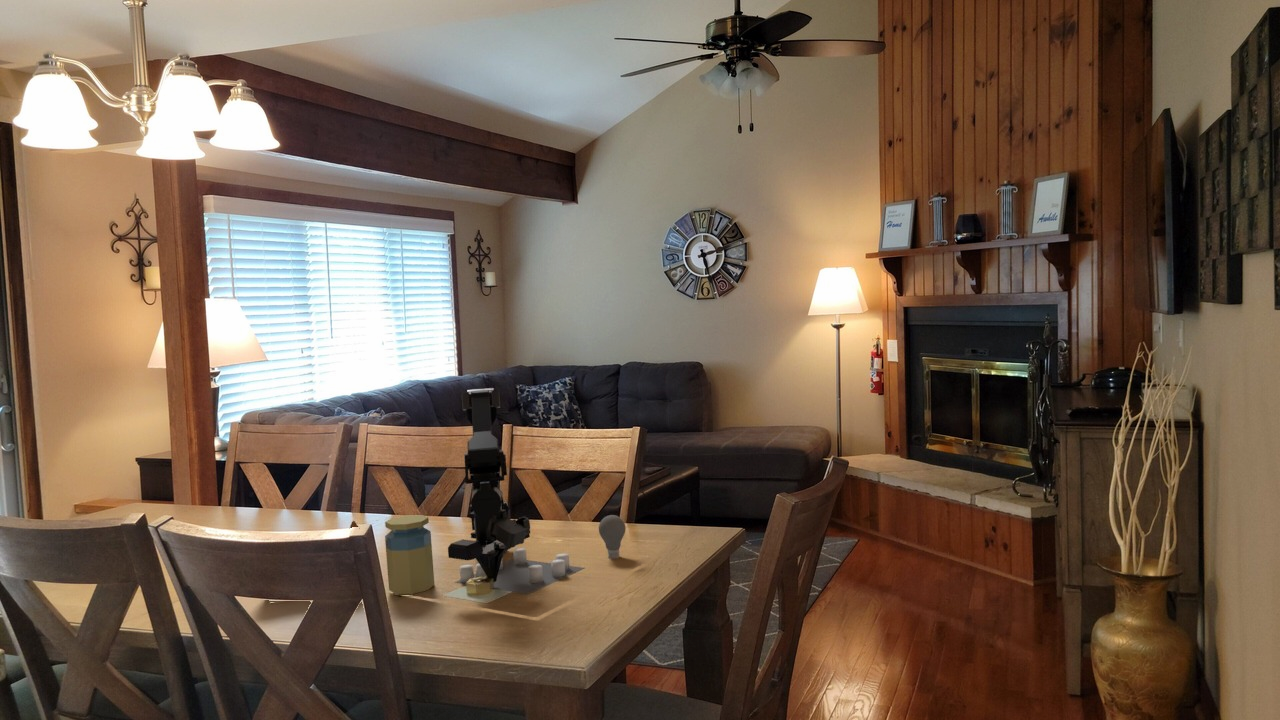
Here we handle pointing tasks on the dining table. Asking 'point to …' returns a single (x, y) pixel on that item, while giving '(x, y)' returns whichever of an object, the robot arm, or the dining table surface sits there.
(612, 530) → the light bulb
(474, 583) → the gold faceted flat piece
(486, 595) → the tile
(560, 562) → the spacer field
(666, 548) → the dining table surface
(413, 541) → the jar
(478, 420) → the robot arm
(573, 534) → the dining table surface
